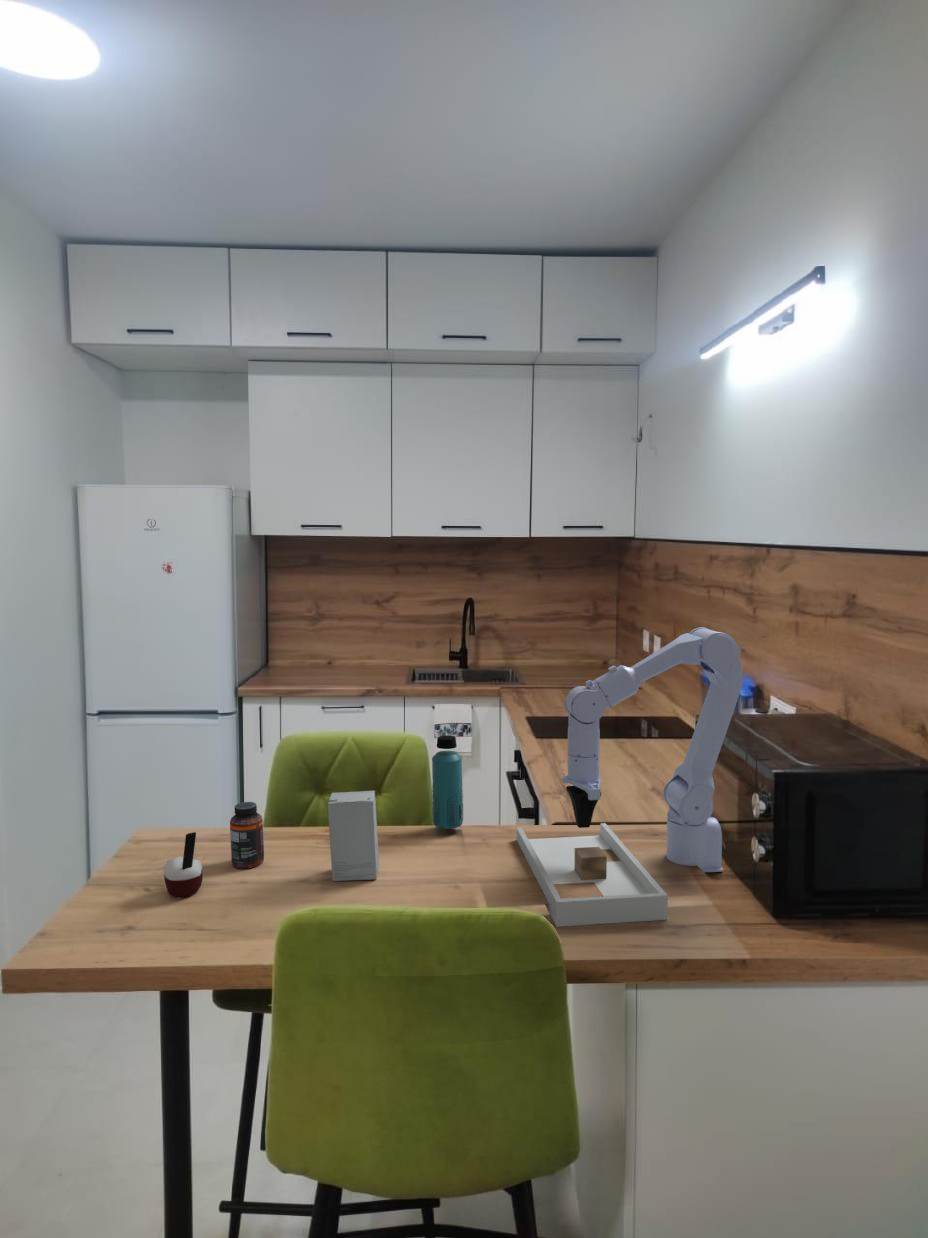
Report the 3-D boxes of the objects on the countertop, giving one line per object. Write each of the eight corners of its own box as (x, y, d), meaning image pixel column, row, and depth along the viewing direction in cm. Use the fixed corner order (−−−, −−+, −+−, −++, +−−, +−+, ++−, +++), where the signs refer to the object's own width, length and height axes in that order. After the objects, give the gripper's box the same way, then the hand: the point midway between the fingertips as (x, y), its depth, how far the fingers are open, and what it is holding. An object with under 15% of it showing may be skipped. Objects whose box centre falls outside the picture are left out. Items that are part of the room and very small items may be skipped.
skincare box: (379, 868, 147) (377, 789, 145) (376, 881, 141) (375, 800, 139) (333, 868, 146) (331, 790, 145) (329, 882, 140) (327, 801, 139)
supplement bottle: (258, 854, 153) (256, 797, 152) (268, 865, 148) (267, 806, 147) (227, 861, 150) (225, 803, 149) (237, 872, 145) (235, 812, 144)
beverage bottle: (463, 836, 162) (462, 740, 161) (430, 836, 163) (430, 740, 161) (463, 825, 169) (463, 732, 167) (432, 825, 169) (431, 732, 167)
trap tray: (605, 842, 159) (605, 823, 158) (667, 919, 126) (667, 895, 126) (516, 847, 156) (516, 827, 156) (556, 926, 124) (556, 902, 123)
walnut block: (598, 868, 142) (599, 846, 142) (606, 878, 138) (606, 856, 138) (574, 869, 142) (574, 848, 141) (581, 880, 137) (581, 858, 137)
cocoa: (167, 888, 140) (162, 821, 139) (205, 882, 141) (200, 816, 141) (162, 909, 130) (157, 837, 130) (202, 903, 132) (197, 832, 131)
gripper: (552, 744, 150) (552, 814, 152) (572, 765, 136) (572, 842, 137) (588, 743, 151) (588, 812, 152) (612, 763, 137) (611, 840, 138)
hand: (583, 826), depth 145 cm, fingers closed
